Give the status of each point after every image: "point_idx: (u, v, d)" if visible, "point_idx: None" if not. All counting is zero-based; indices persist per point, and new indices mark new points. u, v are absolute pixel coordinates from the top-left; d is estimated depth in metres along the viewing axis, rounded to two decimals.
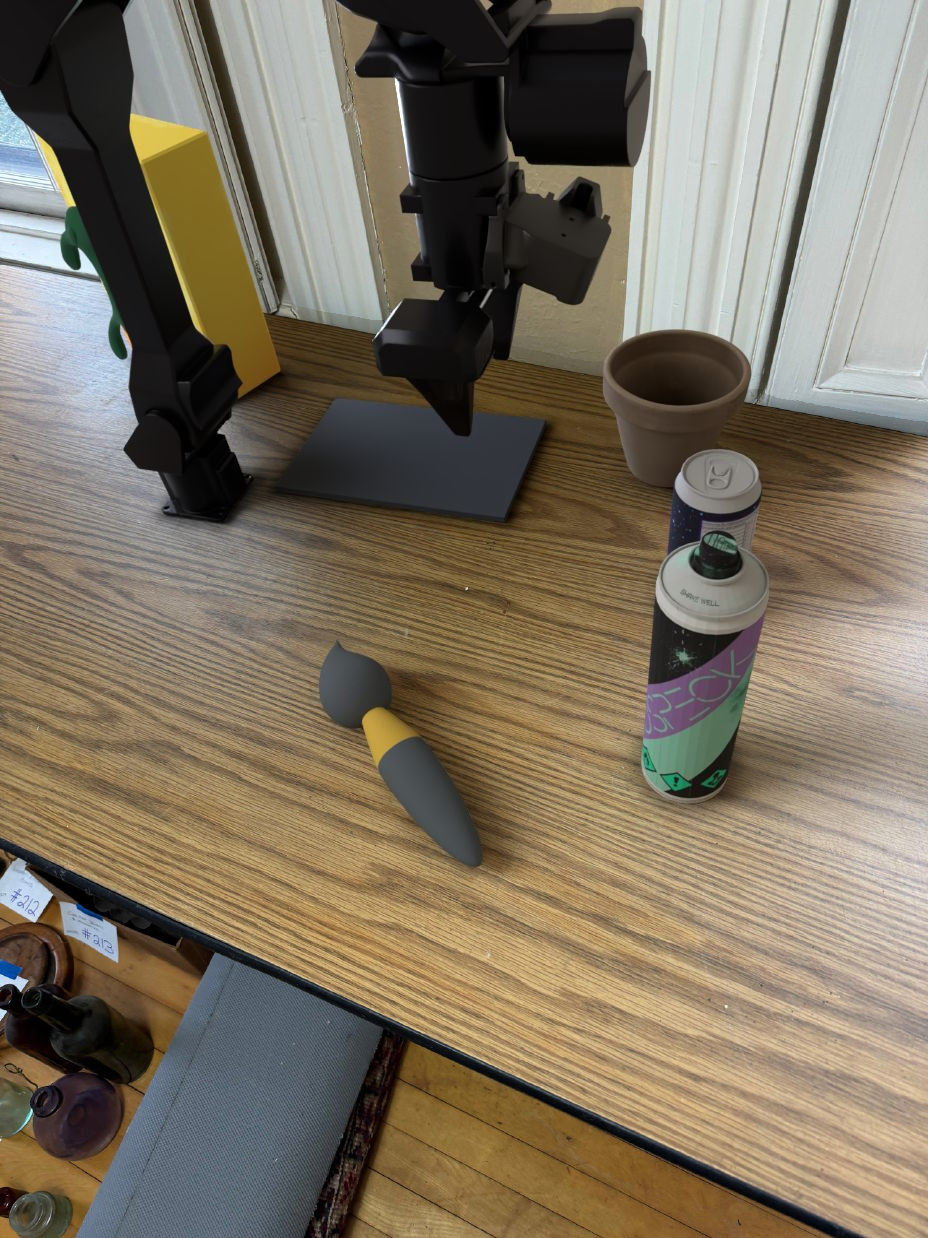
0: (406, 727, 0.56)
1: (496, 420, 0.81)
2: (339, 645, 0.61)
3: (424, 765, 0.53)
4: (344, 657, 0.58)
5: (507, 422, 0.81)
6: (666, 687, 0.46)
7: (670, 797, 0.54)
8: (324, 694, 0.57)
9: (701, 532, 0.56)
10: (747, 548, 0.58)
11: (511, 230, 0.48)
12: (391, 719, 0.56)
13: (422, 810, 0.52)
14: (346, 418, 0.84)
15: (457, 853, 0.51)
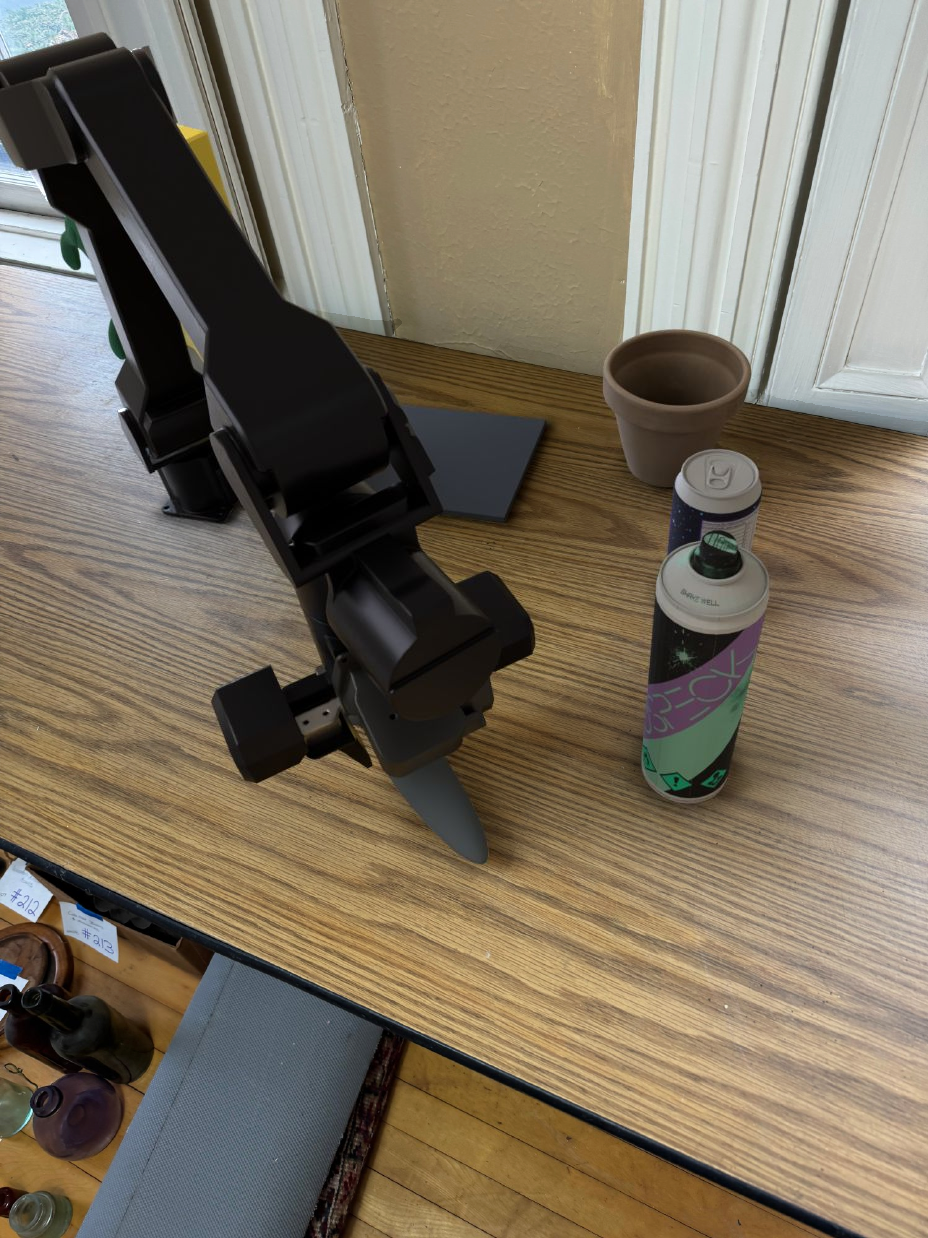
0: None
1: (496, 420, 0.81)
2: None
3: None
4: None
5: (507, 422, 0.81)
6: (666, 686, 0.46)
7: (670, 797, 0.54)
8: None
9: (701, 532, 0.56)
10: (747, 548, 0.58)
11: (350, 681, 0.45)
12: None
13: (428, 807, 0.52)
14: None
15: (464, 850, 0.51)
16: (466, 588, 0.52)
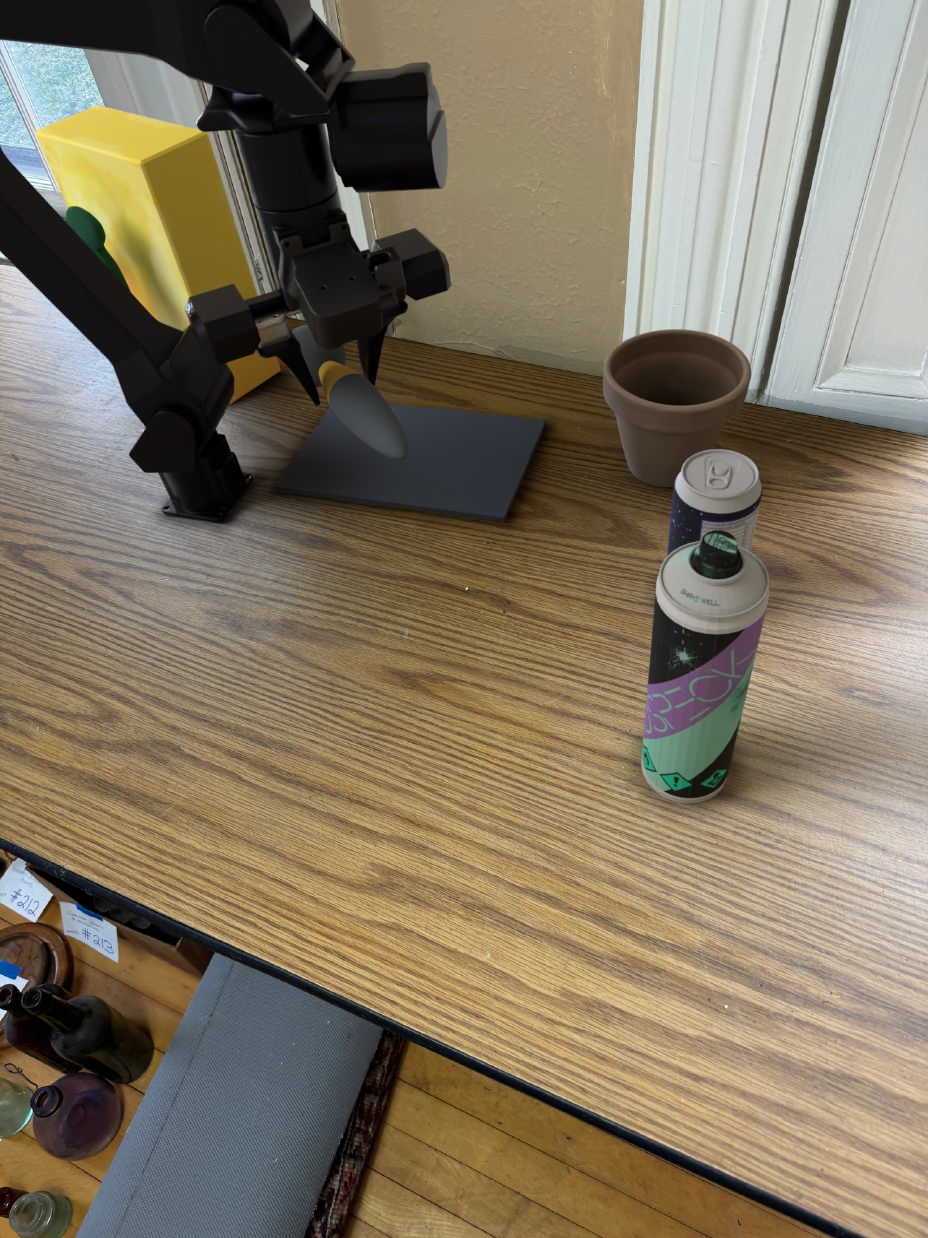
0: (353, 370, 0.67)
1: (496, 420, 0.81)
2: None
3: (365, 388, 0.65)
4: None
5: (507, 422, 0.81)
6: (666, 686, 0.46)
7: (670, 797, 0.54)
8: None
9: (701, 532, 0.56)
10: (747, 548, 0.58)
11: (292, 265, 0.56)
12: (341, 365, 0.68)
13: (361, 417, 0.64)
14: None
15: (387, 446, 0.63)
16: (396, 237, 0.63)
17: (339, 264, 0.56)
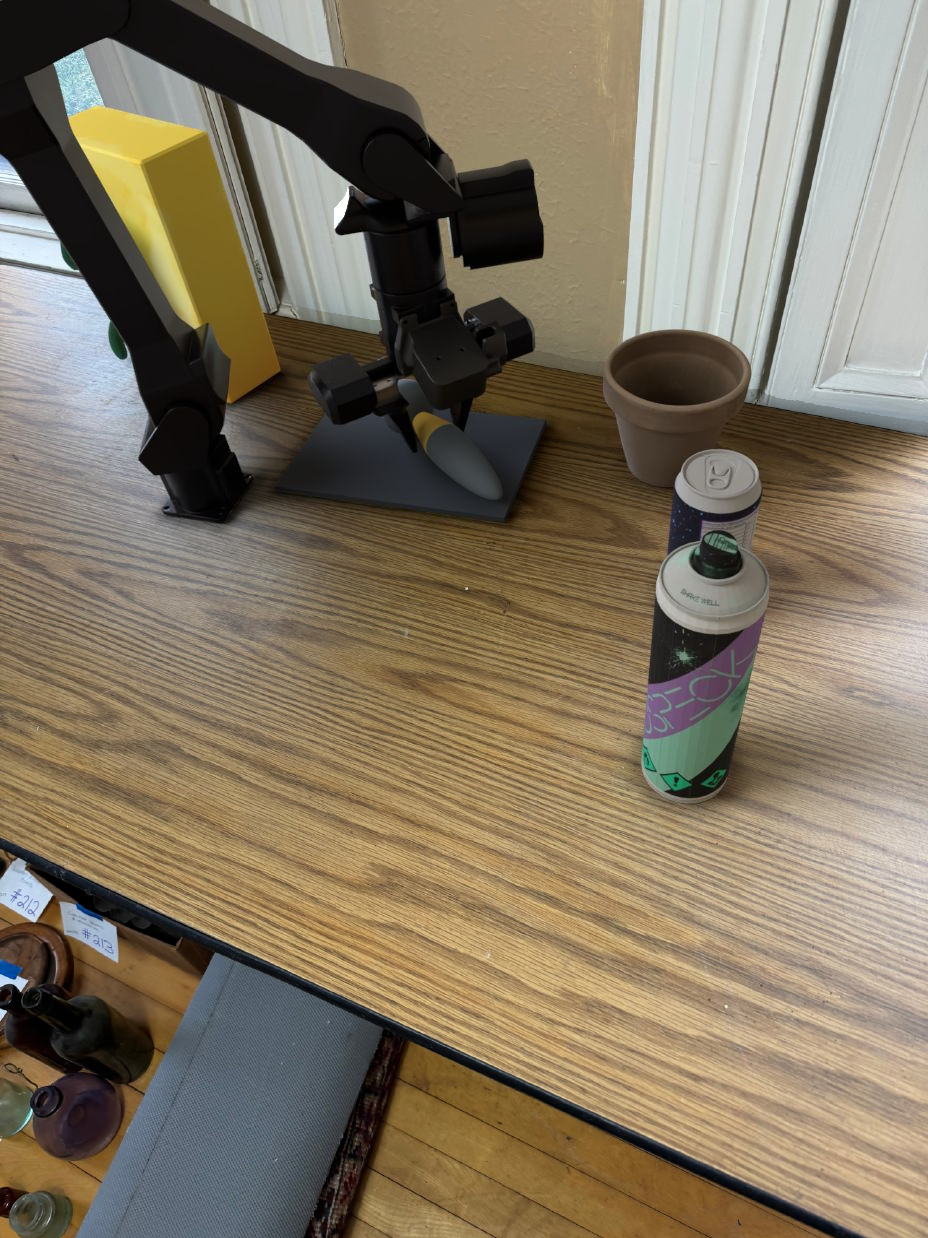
0: (445, 420, 0.76)
1: (496, 420, 0.81)
2: None
3: (460, 437, 0.74)
4: None
5: (507, 422, 0.81)
6: (666, 686, 0.46)
7: (670, 797, 0.54)
8: None
9: (701, 532, 0.56)
10: (747, 548, 0.58)
11: (409, 339, 0.65)
12: (434, 416, 0.77)
13: (459, 464, 0.73)
14: None
15: (485, 489, 0.72)
16: (485, 306, 0.72)
17: (450, 337, 0.65)
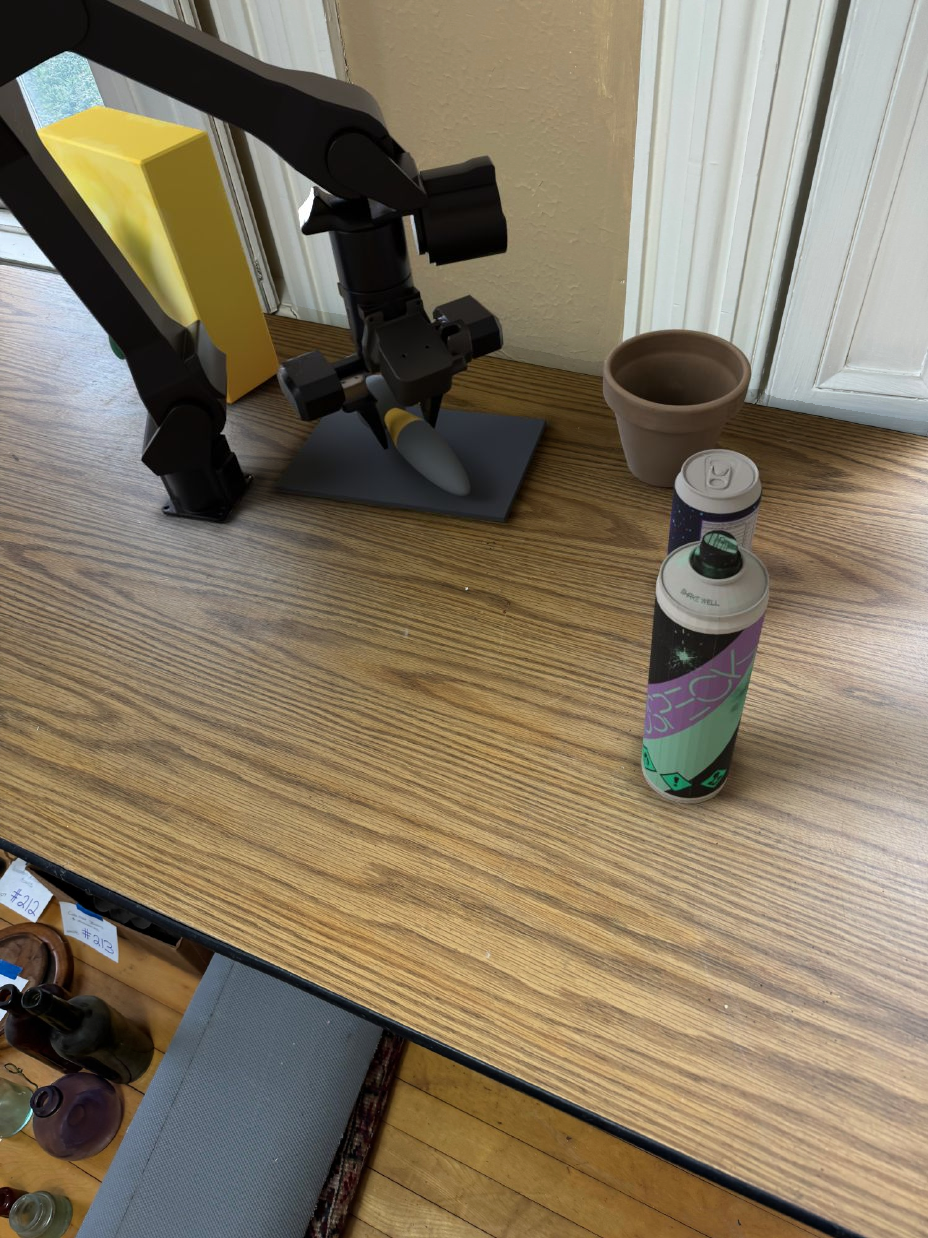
0: (416, 416, 0.77)
1: (496, 420, 0.81)
2: None
3: (430, 433, 0.75)
4: None
5: (507, 422, 0.81)
6: (666, 686, 0.46)
7: (670, 797, 0.54)
8: None
9: (701, 532, 0.56)
10: (747, 548, 0.58)
11: (375, 337, 0.66)
12: (406, 412, 0.78)
13: (427, 459, 0.73)
14: (346, 418, 0.84)
15: (452, 485, 0.72)
16: (454, 304, 0.73)
17: (416, 334, 0.66)
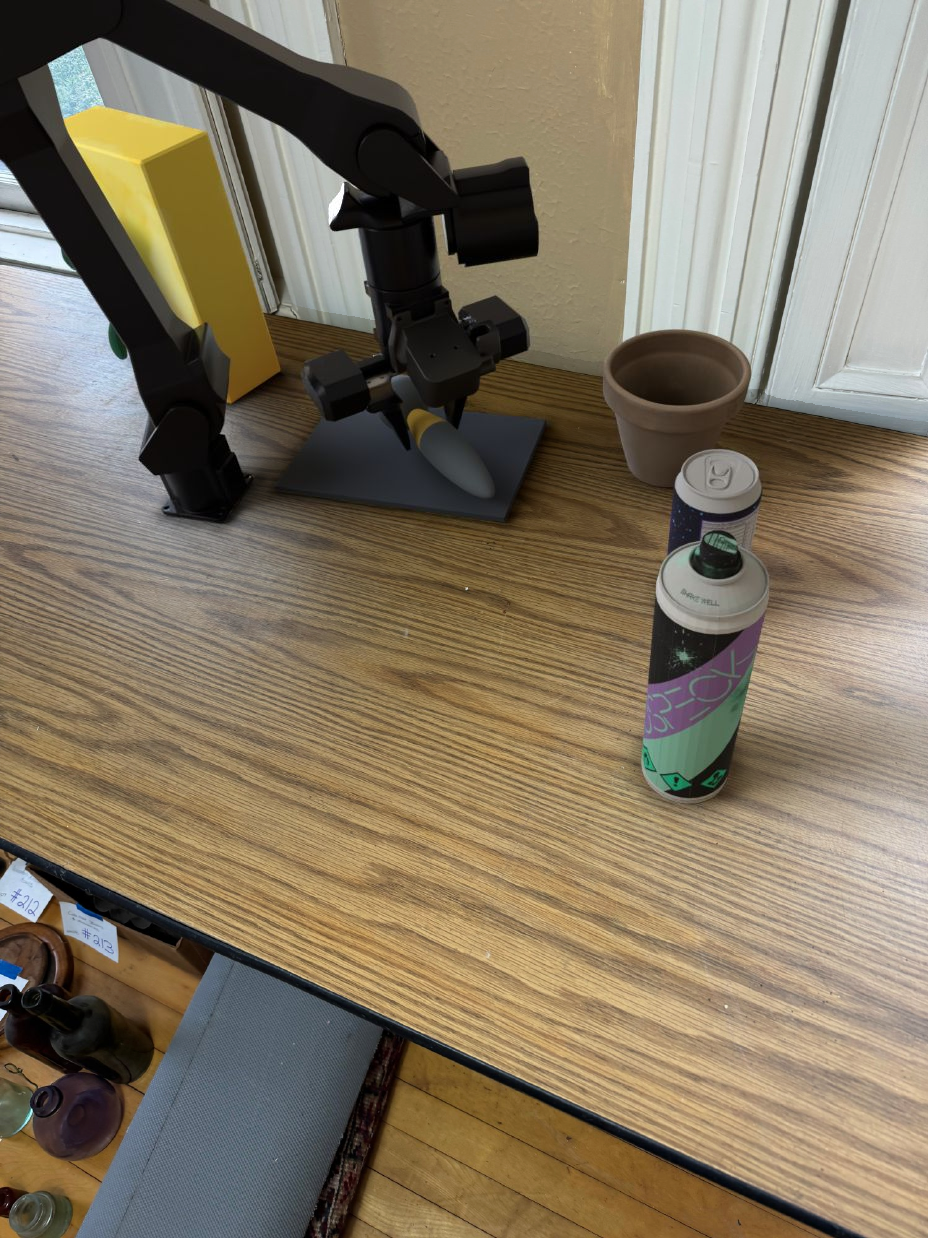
0: None
1: (496, 420, 0.81)
2: None
3: (454, 435, 0.74)
4: None
5: (507, 422, 0.81)
6: (666, 686, 0.46)
7: (670, 797, 0.54)
8: None
9: (701, 532, 0.56)
10: (747, 548, 0.58)
11: (402, 336, 0.65)
12: (429, 413, 0.77)
13: (452, 461, 0.72)
14: (346, 418, 0.84)
15: (477, 487, 0.71)
16: (480, 304, 0.72)
17: (444, 335, 0.65)
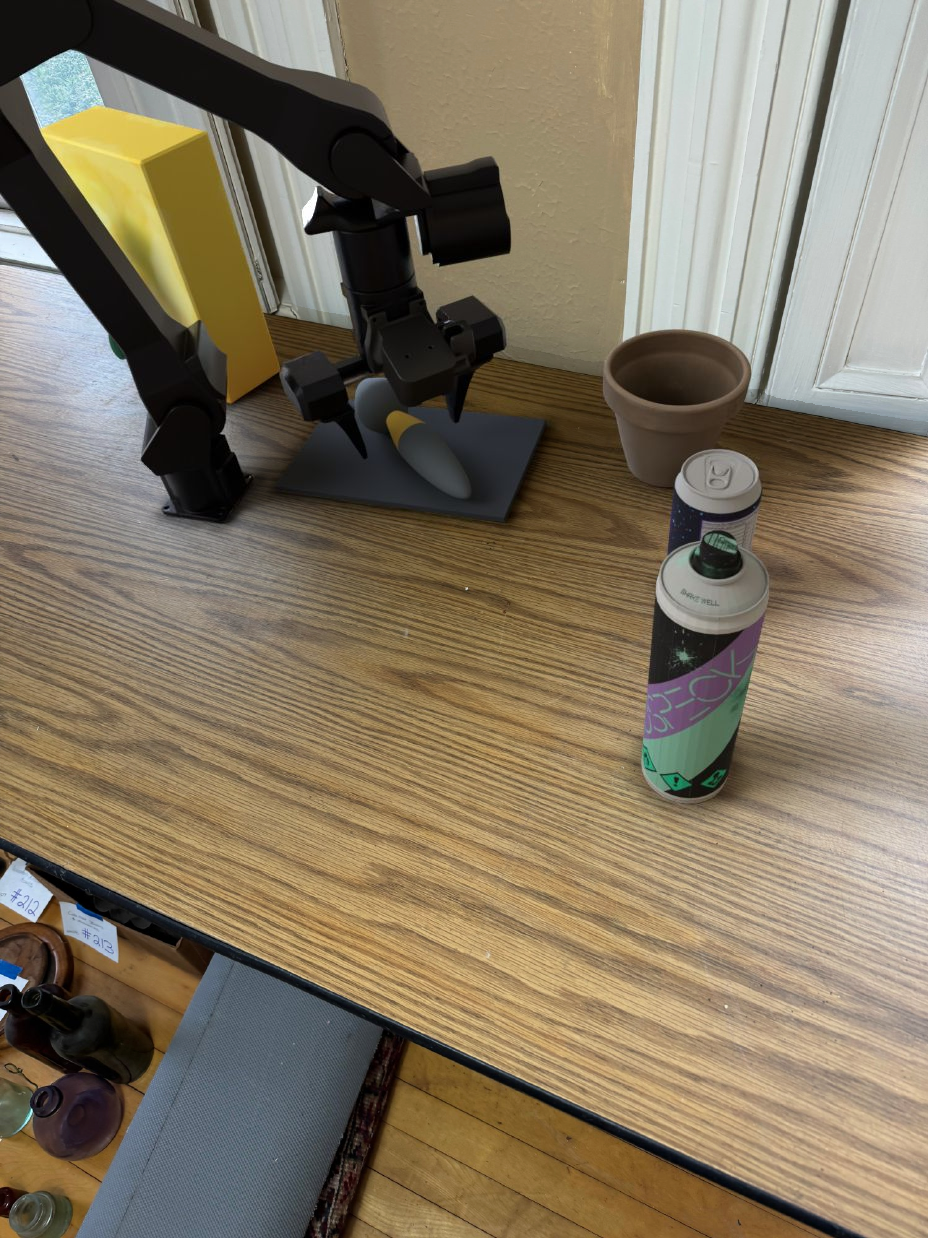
0: (418, 419, 0.77)
1: (496, 420, 0.81)
2: None
3: (431, 436, 0.75)
4: (373, 378, 0.80)
5: (507, 422, 0.81)
6: (666, 686, 0.46)
7: (670, 797, 0.54)
8: (359, 400, 0.79)
9: (701, 532, 0.56)
10: (747, 548, 0.58)
11: (378, 337, 0.66)
12: (407, 415, 0.78)
13: (429, 462, 0.73)
14: None
15: (453, 488, 0.72)
16: (457, 304, 0.73)
17: (419, 335, 0.66)
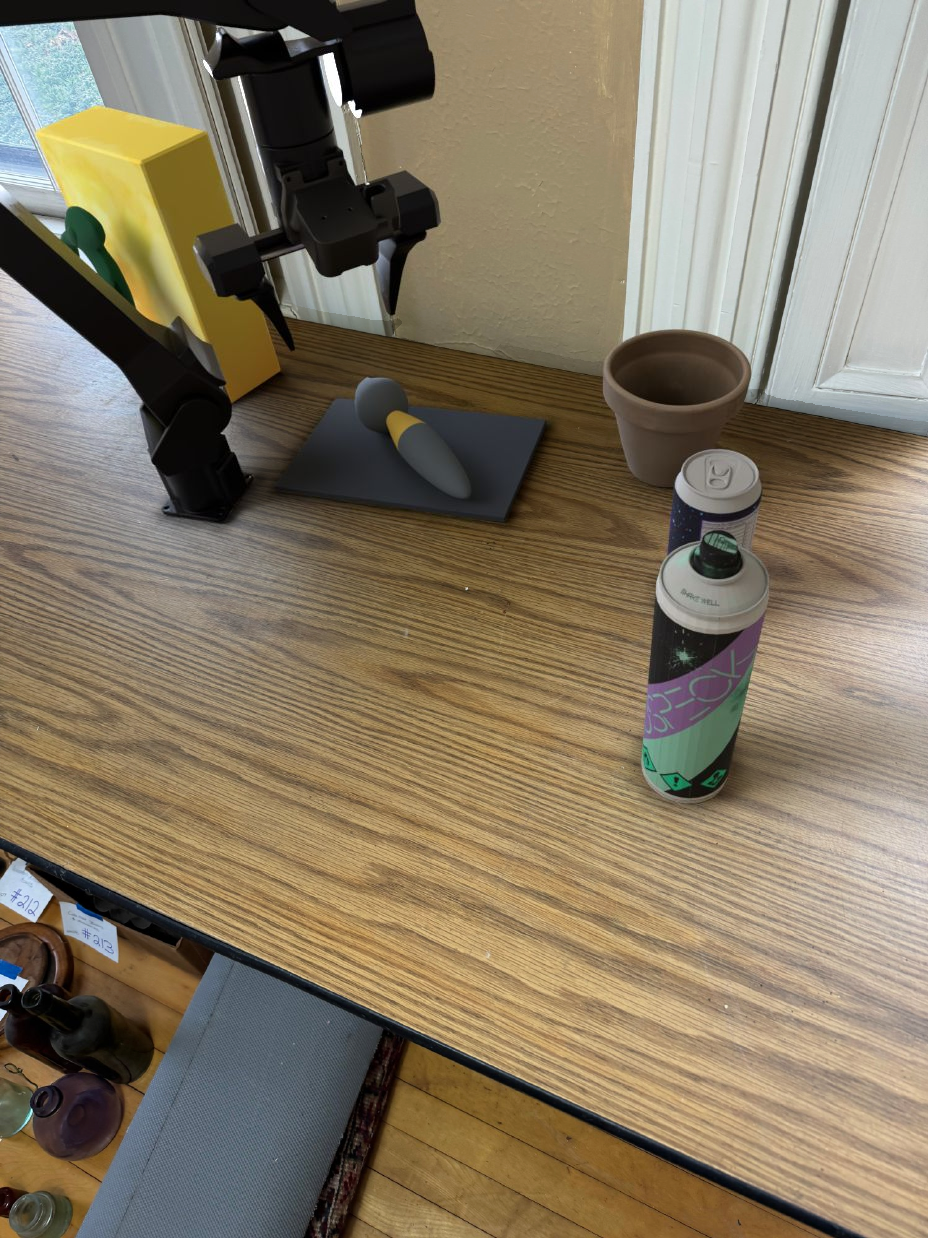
0: (418, 419, 0.77)
1: (496, 420, 0.81)
2: None
3: (431, 436, 0.75)
4: (373, 378, 0.80)
5: (507, 422, 0.81)
6: (666, 686, 0.46)
7: (670, 797, 0.54)
8: (359, 400, 0.79)
9: (701, 532, 0.56)
10: (747, 548, 0.58)
11: (293, 199, 0.61)
12: (407, 415, 0.78)
13: (429, 462, 0.73)
14: (346, 418, 0.84)
15: (453, 488, 0.72)
16: (388, 178, 0.68)
17: (337, 197, 0.61)
